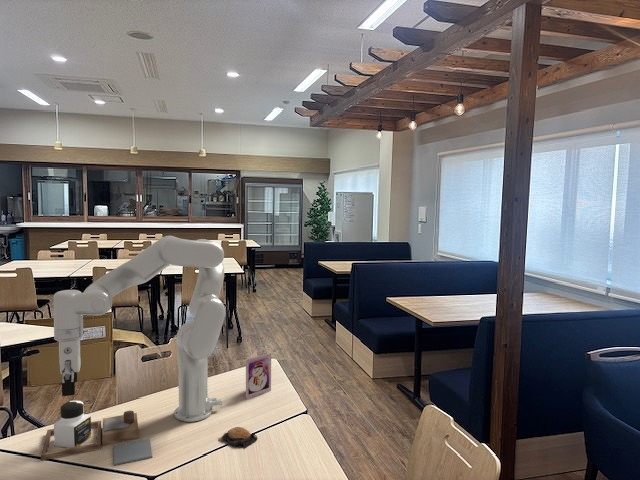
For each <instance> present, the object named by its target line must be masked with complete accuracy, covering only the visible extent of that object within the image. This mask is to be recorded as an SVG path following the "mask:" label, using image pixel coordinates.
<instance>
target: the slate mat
mask: <svg viewBox="0 0 640 480" xmlns="http://www.w3.org/2000/svg"><path fill="white" fill-rule="evenodd" d="M152 458H154V457H153V450H152V444H151V438H149V437H148V438H145V439H139V440H136V441H131V442H130V441H129V442H126V443H119V444H115V445H113V466H119V465H123V464H124V465H125V464H127V463H133V462H137V461H141V460H142V461H143V460H146V459H147V460H148V459H152Z"/></svg>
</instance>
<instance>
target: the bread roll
mask: <svg viewBox="0 0 640 480" xmlns="http://www.w3.org/2000/svg"><path fill="white" fill-rule="evenodd" d="M257 440H258V436H257V435H256V433H254V432H252V433H251V432H250V431H249V430H247V429H246V428H245V427H241V426H235V427H233V428H230V429H228V431H227V432H224V434H222V436H220V437H219V438H218V439H217V441H219V442H220V443H223V444H225V445H228V446H231V447H234V448H237V449H242V448H243V449H247V448H249V447H250V446H252V445H253V444H255V443H256V442H257Z"/></svg>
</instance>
